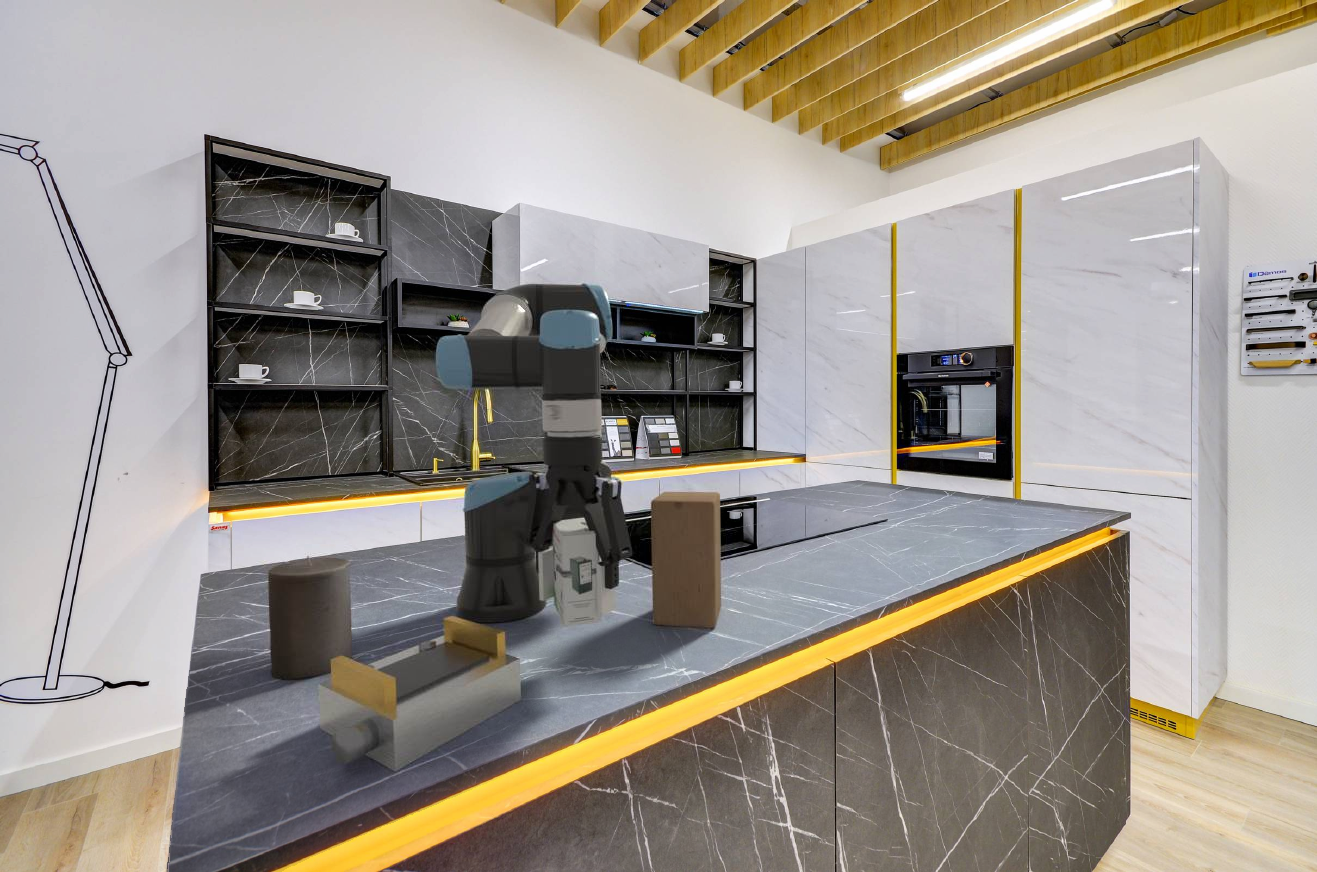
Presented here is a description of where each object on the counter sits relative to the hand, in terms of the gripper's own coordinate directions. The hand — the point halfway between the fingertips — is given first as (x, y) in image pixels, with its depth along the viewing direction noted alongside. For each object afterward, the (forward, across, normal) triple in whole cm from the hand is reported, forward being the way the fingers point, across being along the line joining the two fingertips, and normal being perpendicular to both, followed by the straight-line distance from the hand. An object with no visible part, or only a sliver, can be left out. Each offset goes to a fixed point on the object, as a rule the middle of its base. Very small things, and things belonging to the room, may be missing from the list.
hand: (576, 604), depth 75 cm
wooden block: (+10, +3, +24) cm, 26 cm away
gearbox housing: (+8, -7, -19) cm, 22 cm away
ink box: (+1, 0, 0) cm, 1 cm away
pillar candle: (+9, -32, -18) cm, 38 cm away
